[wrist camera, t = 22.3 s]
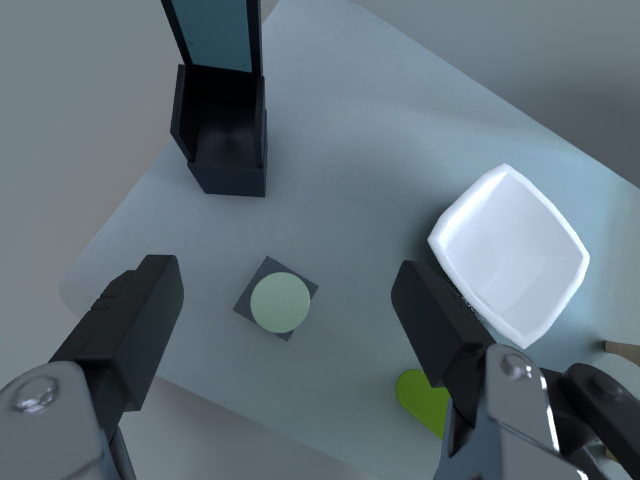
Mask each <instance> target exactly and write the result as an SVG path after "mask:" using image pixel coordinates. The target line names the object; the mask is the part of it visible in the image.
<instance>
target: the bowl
mask: <svg viewBox="0 0 640 480" xmlns="http://www.w3.org/2000/svg"><path fill="white" fill-rule="evenodd" d="M427 241H428V243H429V245H430V247H431V249H432V251H433V252H434V254H435V256H436V258H437V260H438V261H439V263H440V265H441V267H442V269H443V270H444V271H445V273H446V274H447V275H448V277H449V278H450V279H451V281H452V282H453V283H454V285H455V286H456V287H457V289H458V290H459V291H460V293H461V294H462V295H463V297H464V298H465V299H466V301H467V302H468V303H469V304H470V305H471V306H472V307H473V308H474V309H475V310H476V311H477V312H478V313H479V314H480V315H481V316H482V317H483V318H484V319H485V320H486V321H487V322H488V323H489V324H490V325H492V326H493V327H494V328H495V329H496V330H497V331H498V332H499V333H501V334H502V335H503V336H505V337H506V338H508V339H509V340H510V341H512V342H513V343H515V344H516V345H517V346H519V347H520V348H522V349H526V348H527V347H528V346H530V345H531V344H532V343H534V342H535V341H536V340H538V339H539V338H540V337H541V336H543V335H544V334H545V333H546V332H547V331H548V329H549V328H550V327H551V325H552V324H553V322H554V321H555V320H556V318H557V317H558V316H559V314H560V313H561V311H562V310H563V309H564V307H565V306H566V304H567V303H568V302H569V300H570V299H571V297H572V296H573V294H574V293H575V291H576V290H577V288H578V287H579V285H580V284H581V282H582V281H583V278H584V275H585V272H586V269H587V266H588V263H589V260H590V255H589V254H588V252H587V251H586V249H585V247H584V246H583V244H582V242H581V241H580V239H579V237H578V236H577V234H576V233H575V231H574V230H573V229H572V227H571V226H570V225H569V224H568V222H567V221H566V220H565V219H564V217H563V216H562V215H561V214H560V212H559V211H558V210H557V208H556V207H555V206H554V205H553V203H552V202H550V201H549V200H548V199H547V198H546V197H545V196H544V195H543V194H542V193H541V192H540V191H539V190H538V189H537V188H536V187H535V186H534V185H533V184H532V183H531V182H530V181H529V180H528V179H527V178H525V177H524V176H523V175H521V174H520V173H518V172H517V171H516V170H514V169H513V168H512V167H510V166H509V165H508V164H506V163H504V164H502V165H499V166H497V167H495V168H493V169H491V170H489V171H487V172H485V173H484V174H483V175H482V176H481V177H480V178H479V179H478V180H476V181H475V182H474V183H473V184H472V185H471V186H470V187H469V188H468V189H467V190H466V191H465V192H464V193H463V194H462V195H461V196H460V197H459V198H458V199H457V200H456V201H455V202H454V203H453V204H452V205H451V206H450V207H449V208H448V209H447V210H446V211H445V212H444V213H443V214H442V215H441V216H440V217H439V219H438V221H437V223H436V225H435V226H434V228H433V230H432V232H431V233H430V235H429V237H428V239H427Z"/></svg>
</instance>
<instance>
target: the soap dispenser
mask: <svg viewBox="0 0 640 480" xmlns="http://www.w3.org/2000/svg"><path fill="white" fill-rule="evenodd" d="M396 394H397V398H398V401H399V402H400V404H401V405H402V406H403V407H404V408H405V409H406V410H407V411H408V412H409V413H411V414H412V415H413V416H414V417H415V418H416V419H418V420H419V421H420V422H421V423H422V424H423V425H425V426H426V427H427V428H428V429H429V430H430V431H432V432H433V433H434V434H435V435H436V436H437V437H439V438H440V439H441V440H442V441H443V434H444V427H445V419H446V411H447V404H448V399H449V397H450V394H449V392H448V390H447V388H446V387H440V388H432V387H431V385H430V383H429V381H428V379H427V377H426V375H425V373H423V372H421V371H419V370H415V369H413V370H408V371H406V372H404V373H403V374H402V375H401V376H400V378H399V380H398V382H397V386H396Z"/></svg>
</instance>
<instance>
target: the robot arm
mask: <svg viewBox="0 0 640 480" xmlns="http://www.w3.org/2000/svg"><path fill="white" fill-rule="evenodd" d="M458 295H459V294H458V293H457V292H456V291H455V289H454V288H453V287H452V285H451V284H450V283H449V282H447V281H446V280H445V279H444V278H442V277H441V276H440V275H438V274H435V272H434V271H433V270H432V268H431V267H430V266H429V264H428V263H427V262H426V261H419V260H405V261H403V262H402V264H401V266H400V269H399V272H398V274H397V277H396V279H395V282H394V285H393V287H392V290H391V301H392V305H393V307H394V309H395V311H396V313H397V316H398V318H399V320H400V322H401V324H402V326H403V328H404V330H405V332H406V335H407V337H408V339H409V341H410V343H411V345H412V347H413V349H414V351H415V354H416V356H417V358H418V360H419V362H420V364H421V366H422V368H423V370H424V373H425V375H426V377H427V379H428V381H429V383H430V385H431V387H432V388H440V387H446V388H447V390H448V392H449V394H450V397H449V399H448V404H447V411H446V419H445V427H444V434H443V442H442V450H441V457H440V462H439V466H438V468H437V471H436V473H435V475H434V477H433V480H610V478H609V477H608V476H607V475H606V473H605V472H604V471H603V469H602V468H601V467H600V465H599V464H598V463H597V461H596V460H595V459H594V457H593V456H592V455H591V453H590V452H589V451H588V450H587V448H586V447H585V446H586V445H588V444H590V443H591V442H593V441H595V440H596V439H598V438H599V439H600V440H601V441H602V442H603V443H604V445H605V446H606V447H607V448H608V450H609V451H610V452H611V453H612V455H613V456H614V457H615V458H616V459H617V461H618V462H619V463H620V464H621V466H622V467H623V468H624V469H625V470H626V472H627V473H628V474H629V475H630V477H631V478H632V479H633V480H640V402H639V401H638V400H637V399H636V398H634V397H633V396H632V395H631V394H630V393H629V392H628V391H627V390H626V389H625V388H624V387H623V386H622V385H621V384H620V383H619V382H617V381H616V380H615V379H613V378H612V377H611V376H609V375H608V374H606V373H604V372H603V371H601V370H599V369H597V368H595V367H593V366H590V365H587V364H582V363H575V364H573V365H572V366H571V367H569V368H568V369H567V370H566V371H565V372H564V373H559V372H556V371H552V370H548V369H544V368H540V367H538V366H537V365H536V364H535V363H534V362H533V361H532V360H531V359H530V358H529V357H528V356H526V355H525V354H524V353H522V352H521V351H519V350H517V349H515V348H513V347H511V346H508V345H505V344H497V343H496V341H495V340H494V339H493V338H492V336H491V335H490V334H489V333H488V331H487V330H486V329H485V327H484V326H483V325H482V324H481V322H480V321H479V320H478V319H477V317H476V316H475V315H474V313H473V312H472V311H471V310H470V308H469V307H468V306H466V303H465V302H464V301H463V299H462V298H461V297H459V296H458ZM183 300H184V289H183V284H182V279H181V275H180V270H179V265H178V261H177V258H176V256H175V255H147V256H146V257H145V258H144V259H143V261H142V262H141V263H140V265H139V266H138V268H137V269H136V270H127V271H126V272H124V273H123V274H121V275H120V276H119V277H117V278H116V279H114V280H113V281H111V282H110V284H109V285H108V286H107V287H106V289H105V290H104V291H103V293H102V294H101V295H100V299H97V300H96V301H95V303H94V304H93V305H92V307H91V310H90V311H88V312H87V313H86V314H85V316H84V317H83V318H82V319H81V321H80V322H79V324H78V325H77V326H76V327H75V328H74V330H73V331H72V332H71V334H70V335H69V336H68V337H67V339H66V340H65V341H64V342H63V344H62V345H61V346H60V348H59V349H58V350H57V351H56V353H55V354H54V355H53V357H52V358H51V359H50V360H49V362H48V363H47V364H44V365H41V366H39V367H36V368H33V369H31V370H29V371H27V372H25V373H23V374H22V375H20V376H18V377H17V378H15V379H14V380H13V381H11V382H10V383H8V384H7V385H6V386H5V387H4V388H2V389H1V390H0V480H137V479H136V476H135V473H134V470H133V467H132V464H131V461H130V458H129V455H128V451H127V448H126V445H125V442H124V439H123V436H122V433H121V430H120V428H119V426H118V423H119V421H120V419H121V416H122V414H123V412H127V411H128V412H129V411H140V410H141V407H142V405H143V402H144V400H145V398H146V395H147V392H148V390H149V387H150V385H151V383H152V380H153V378H154V375H155V373H156V370H157V368H158V365H159V363H160V360H161V358H162V355H163V353H164V351H165V348H166V346H167V343H168V341H169V338H170V336H171V333H172V331H173V328H174V326H175V323H176V321H177V318H178V316H179V313H180V311H181V308H182V305H183Z"/></svg>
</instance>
